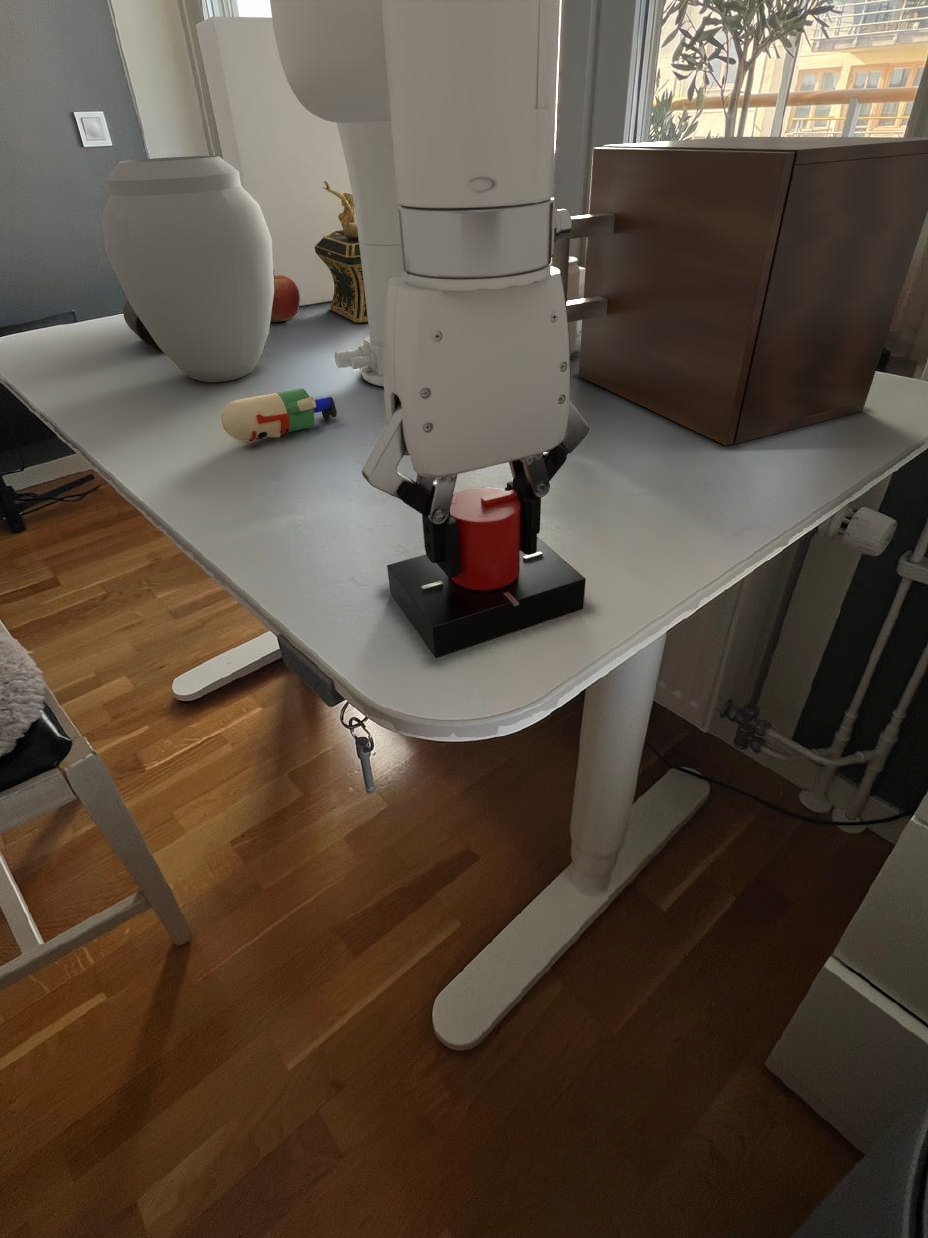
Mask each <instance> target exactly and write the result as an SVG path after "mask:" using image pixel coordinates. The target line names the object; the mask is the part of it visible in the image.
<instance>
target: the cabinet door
mask: <svg viewBox="0 0 928 1238" xmlns="http://www.w3.org/2000/svg"><path fill="white" fill-rule="evenodd" d="M794 155H795V152H764V151H724V150H684V149H644V148H604V147H603V146H601V147H600V146H599V147H593V148H592V161H591V174H590V176H591V177H590V190H589V191H590V192H589V204H588V205H589V207H588V209H589V210H588V214H583V215H582V214H581V215H571V219H572V227H571V232H570V234H569V236H568V237H566V238H560V239H557V240H556V241H555V242H554V255H553V257H552V267H555V268H557V269H559V270H560V274H561V279H562V285H563V291H564V298H565V305H566V313H567V322H572V321H577V322H578V321H581V331H580V332H581V333H580V346H579V347H580V348H579V361H578V362H579V363H578V377H580V378H582V379H584V380H586V381H589V382H590V383H593V384H595V385H596V386H599V387H601V388H603V389H605V390H607V391H609V392H611V393H614V394H616V395H617V396H620V397H623V398H625V399H627V400H629V401H631V402H633V403H635V404H637V405H638V406H641V407H643V408H646V409H647V410H649V411H652V412H654V413H656V414H658V415H660V416H662V417H664V418H666V419H669V420H671V421H673V422H675V423H677V424H679V425H681V426H684V427H685V428H687V429H690V430H692V431H693V432H696V433H698V434H701V436H705V437H707V438H709V439H711V440H713V441H716V443H720V444H721V445H723V446H729V445H732V444H733V441H734V437H735V432H736V427H737V422H738V418H739V413H740V408H741V404H742V399H743V394H744V390H745V385H746V380H747V376H748V371H749V366H750V361H751V357H752V352H753V347H754V343H755V338H756V333H757V329H758V324H759V319H760V314H761V310H762V305H763V300H764V296H765V291H766V286H767V282H768V277H769V272H770V268H771V263H772V258H773V253H774V249H775V244H776V239H777V235H778V230H779V225H780V221H781V216H782V211H783V206H784V202H785V197H786V192H787V188H788V183H789V178H790V174H791V169H792V164H793V160H794ZM581 238H586V254H585V255H586V256H585V267H584V268H585V283H584V298H582V299H578V300H571V301H567V287H568V268H569V256H570V247H571V245H570V244H571V240H572V239H581ZM733 445H734V444H733Z"/></svg>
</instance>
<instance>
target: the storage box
mask: <svg viewBox="0 0 928 1238" xmlns="http://www.w3.org/2000/svg"><path fill="white" fill-rule="evenodd" d="M195 29H196V35H197V38H198V45H199V49H200V53H201V59H202V63H203V68H204V73H205V78H206V82H207V88H208V92H209V97H210V102H211V107H212V112H213V116H214V122H215V127H216V131H217V135H218V140H219V145H220V150H221V156H222V159H223V160H224V161H225V162H227V163H228V164H230V165H231V166H232V167H234V168H235V169H237V170H238V171H239V176H240V183H241V186H242V187H243V188H244V189H245V190H246V191H247V192H248V193H249V194H250V196H251V197H252V198H253V199H254V200H255V201H256V202H257V203H258V204H259V206H260V208H261V211H262V214H263V216H264V219H265V222H266V224H267V227H268V230H269V232H270V235H271V238H272V255H273V269H274V276H279V275H282V276H285V277H288V278H290V279H291V280H292V281H293V282H294V283H295V284H296V286H297V288H298V290H299V294H300V303H299V307H302V306H307V305H314V304H320V303H327V302H332V299H333V295H334V281H333V277H332V274H331V272H330V270H329V268H328V267H327V265H326V264H325V263H324V262H323V261H322V260H321V258H320V257H319V256H318V255H317V254H316V252H315V245H316V244H317V243H318V242H319V241H320V240H321V239H322V238H323V237H324V236H327V235H329V234H331V233H333V232H335V231H340V230H343V228H342V225H341V221H340V220H339V218H338V216H339V214H341V213H343V212H344V206H342V202H341V201H342V200H341V199H340V198H338V197H337V196H336V195H334V194H333V193H330V192H329V191H327V190H326V189H324V188H323V187H325V188H326V184H325V183H324V181H326V182H327V183H328V185H329V186H330V189H331V190H333V191H336V192H338V193H340V194H342V195H343V194H344V193H348V194H349V193H350V194H352V189H351V184H350V179H349V174H348V169H347V164H346V160H345V156H344V152H343V148H342V144H341V139H340V135H339V131H338V126H337V122H330V121H327V120H323V119H321V118H319V117H317V116H315V115H313V114H312V113H310V112H309V111H308V110H306V109H305V107H304V106H303V105H302V104H301V103H300V102H299V100H298V99H297V97H296V96H295V94H294V93H293V91H292V89H291V87H290V85H289V83H288V81H287V78H286V75H285V73H284V70H283V67H282V64H281V60H280V56H279V52H278V48H277V43H276V38H275V33H274V27H273V20H272V17H263V16H261V17H259V16H257V17H256V16H210V17H209V18H206V19H205V20H204V19H203V20H202V21H200V22H199V23H196V24H195ZM343 196H344V195H343ZM354 211H355V208H354ZM355 217H356V215H355ZM355 223H357V222H355ZM336 234H338V233H336ZM336 234H335V235H336Z"/></svg>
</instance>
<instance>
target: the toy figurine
mask: <svg viewBox="0 0 928 1238" xmlns="http://www.w3.org/2000/svg"><path fill="white" fill-rule="evenodd" d="M318 413H321V415H322V418H323V420H324V421H325V422H326V421H330V420H331V418H336V417H337V416H338V411H337V407H336V403H335V400H334V398H333V397H332V396H327V397H321V398H314V397H313V396H310V395H309V393H308V392H307V391H306V390H305V389H304V388H297V389H291V390H285V391H280V392H274V393H268V394H263V395H257V396H251V397H245V398H240V399H235V400H231V401H229V402H228V403H227V404H226V405H225V406H224V407H223V409H222V411H221V416H220V420H221V425H222V428H223V429H224V431H225V432H226V434H227V435H229V437H231V438H233V439H235V440H237V441H241V442H242V441H243V442H244V441H248V442H254V441H256V440H263V439H264V438H274V439H279V438H281V436H283V435H287V434H288V433H290V432H295V431H299V430H304V429H311V428H312V427H314V425H315V416H316V415H315V414H318Z"/></svg>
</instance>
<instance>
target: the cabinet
mask: <svg viewBox="0 0 928 1238" xmlns="http://www.w3.org/2000/svg"><path fill="white" fill-rule="evenodd" d="M602 147H604V148H644V149H684V150H724V151H764V152H795V155H794V160H793V164H792V169H791V174H790V178H789V183H788V188H787V192H786V197H785V202H784V206H783V211H782V216H781V221H780V225H779V230H778V235H777V239H776V244H775V249H774V253H773V258H772V263H771V268H770V272H769V277H768V282H767V286H766V291H765V296H764V300H763V305H762V310H761V314H760V319H759V324H758V329H757V333H756V338H755V343H754V347H753V352H752V357H751V361H750V366H749V371H748V376H747V380H746V385H745V390H744V394H743V399H742V404H741V408H740V413H739V418H738V422H737V427H736V432H735V437H734V441H733V445H737V444H742V443H745V442H749V441H753V440H757V439H760V438H763V437H768V436H771V435H775V434H780V433H784V432H788V431H791V430H795V429H799V428H802V427H806V426H810V425H814V424H817V423H822V422H825V421H829V420H833V419H836V418H840V417H844V416H848V415H852V414H855V413H859V412H862V411H864V408H865V406H866V402H867V401H868V396H869V394H870V390H871V387H872V384H873V381H874V378H875V374H876V371H877V369H878V366H879V363H880V359H881V357H882V353H883V350H884V347H885V345H886V341H887V338H888V334H889V332H890V329H891V327H892V326H891V325H892V323H893V320H894V316H895V313H896V310H897V308H898V307H897V306H898V304H899V301H900V298H901V295H902V292H903V289H904V286H905V282H906V279H907V276H908V274H909V270H910V267H911V265H912V260H913V257H914V255H915V252H916V248H917V246H918V242H919V239H920V236H921V234H922V230H923V227H924V224H925V221H926V218H927V215H928V136H926V137H922V136H920V137H919V136H918V137H917V136H914V137H912V136H910V137H908V136H875V137H874V136H721V137H708V138H693V139H692V138H691V139H679V140H678V139H677V140H664V141H649V142H636V143H619V144H605V145H602Z"/></svg>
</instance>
